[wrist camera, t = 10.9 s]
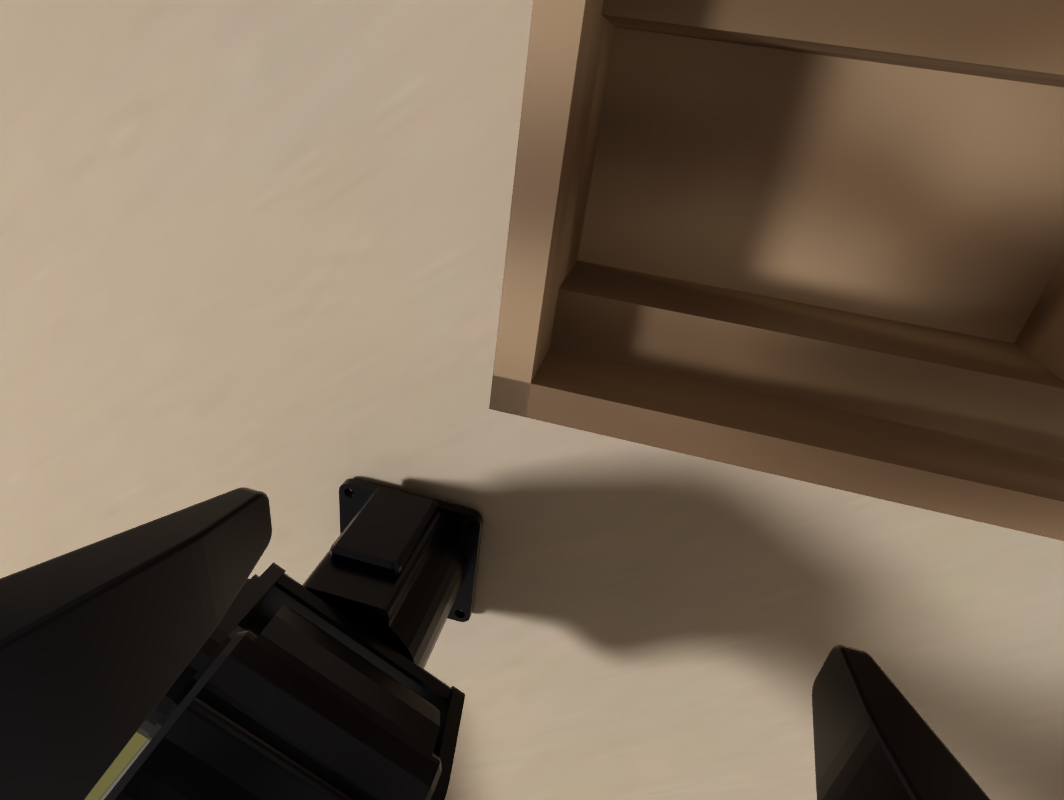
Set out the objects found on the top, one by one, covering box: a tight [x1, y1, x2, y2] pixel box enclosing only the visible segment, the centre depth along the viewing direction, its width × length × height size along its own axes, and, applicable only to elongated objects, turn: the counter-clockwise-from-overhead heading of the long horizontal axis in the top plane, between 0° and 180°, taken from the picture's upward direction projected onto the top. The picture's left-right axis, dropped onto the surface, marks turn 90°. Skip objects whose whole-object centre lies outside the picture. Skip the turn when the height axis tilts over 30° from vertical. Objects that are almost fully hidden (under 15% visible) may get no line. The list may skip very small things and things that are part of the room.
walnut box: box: [489, 0, 1064, 541], centre depth 15 cm, size 12×15×6 cm
